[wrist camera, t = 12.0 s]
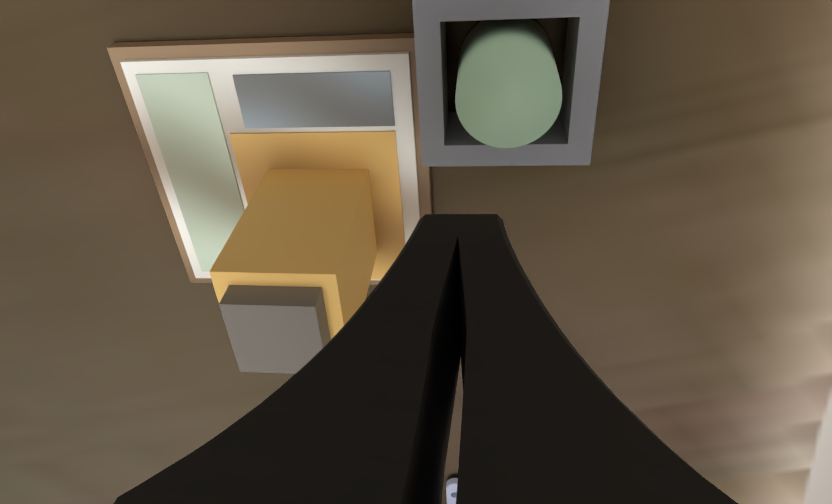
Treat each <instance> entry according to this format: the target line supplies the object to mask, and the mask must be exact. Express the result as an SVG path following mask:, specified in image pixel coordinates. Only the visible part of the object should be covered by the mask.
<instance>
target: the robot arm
mask: <svg viewBox="0 0 832 504" xmlns="http://www.w3.org/2000/svg"><path fill="white" fill-rule="evenodd" d="M460 357H461V365H462V379H463V409H462V425H461V440H460V455H459V470H458V478H451V479H449V480H448V481H447V483H446V498H447V504H738V503H736V502H735V501H734V500H732V499H731V498H730V497H728V496H727V495H726V494H725V493H723V492H722V491H721V490H719V489H718V488H717V487H715V486H714V485H713V484H711V483H710V482H709V481H707V480H706V479H705V478H704V477H702V476H701V475H700V474H699V473H698V472H696V471H695V470H694V469H693V468H692V467H691V466H689V465H688V464H687V463H686V462H685V461H684V460H683V459H681V458H680V457H679V456H678V455H677V454H676V453H675V452H673V451H672V450H671V449H670V448H669V447H668V446H667V445H665V444H664V443H663V442H662V441H661V440H660V439H659V438H658V437H657V436H656V435H655V434H654V433H653V432H652V431H651V430H650V429H649V428H648V427H647V426H646V425H645V424H644V423H643V422H642V421H641V420H640V419H639V418H638V417H637V416H636V415H635V414H633V413H632V412H631V411H630V410H629V409H628V408H627V407H626V406H625V405H624V404H623V403H622V402H621V401H620V400H619V399H618V398H617V397H616V396H615V395H614V394H613V392H612V391H611V390H610V389H609V388H608V387H607V386H606V385H605V384H604V382H603V381H602V380H601V379H600V378H599V377H598V376H597V375H596V374H595V372H594V371H593V370H592V369H591V368H590V367H589V365H588V364H587V363H586V362H585V360H584V359H583V358H582V357H581V356H580V354H579V353H578V352H577V351H576V349H575V348H574V347H573V346H572V344H571V343H570V342H569V340H568V339H567V338H566V336H565V335H564V334H563V332H562V331H561V330H560V328H559V327H558V325H557V324H556V322H555V321H554V319H553V318H552V316H551V315H550V314H549V312H548V311H547V309H546V308H545V306H544V304H543V303H542V301H541V300H540V298H539V297H538V295H537V293H536V291H535V290H534V288H533V286H532V285H531V283H530V281H529V279H528V278H527V276H526V274H525V272H524V271H523V269H522V267H521V265H520V263H519V261H518V259H517V257H516V255H515V252H514V250H513V248H512V246H511V244H510V241H509V239H508V236H507V233H506V230H505V227H504V223H503V220H502V219H501V218H500V217H499V216H498V215H497V214H425V215H424V216H423V217H422V218H421V219H419V221H418V223H417V225H416V227H415V229H414V230H413V232H412V234H411V236H410V238H409V239H408V241H407V243H406V244H405V246H404V247H403V249H402V250H401V252H400V254H399V255H398V257H397V258H396V260H395V261H394V263H393V264H392V265H391V267H390V268H389V270H388V271H387V272H386V274H385V275H384V277H383V278H382V279H381V281H380V282H379V284H378V285H377V286H376V288H375V289H374V290H373V292H372V293H371V294H370V295H369V296H368V298H367V299H366V300H365V301H364V302H363V304H362V305H361V306H360V307H359V309H358V310H357V311H356V312H355V313H354V315H353V316H352V317H351V318H350V319H349V321H348V322H347V323H346V324H345V325H344V326H343V327H342V328H341V329H340V331H339V332H338V333H337V334H336V335H335V336H334V337H333V338H332V339H331V340H330V341H329V342H328V343H327V344H326V345H325V346H324V347H323V348H322V349H321V350H320V351H319V352H318V353H317V354H316V355H315V356H314V357H313V358H312V359H311V360H310V361H309V362H308V363H307V364H306V365H305V366H304V367H302V368H301V369H300V370H299V371H298V372H297V373H296V374H295V375H293V376H292V377H291V378H290V379H289V380H288V381H287V382H286V383H285V384H283V385H282V386H281V387H280V388H279V389H278V390H276V391H275V392H274V393H273V394H272V395H270V396H269V397H268V398H267V399H266V400H264V401H263V402H262V403H261V404H259V405H258V406H257V407H255V408H254V409H253V410H251V411H250V412H249V413H247V414H246V415H245V416H243V417H242V418H240V419H239V420H238V421H236V422H235V423H234V424H232V425H231V426H230V427H228V428H227V429H226V430H224V431H223V432H222V433H220V434H219V435H217V436H216V437H214V438H213V439H212V440H210V441H209V442H207V443H206V444H204V445H203V446H201V447H200V448H198V449H197V450H195V451H194V452H192V453H190V454H189V455H187V456H186V457H184V458H182V459H181V460H179V461H177V462H176V463H174V464H172V465H171V466H169V467H168V468H166V469H164V470H163V471H161V472H159V473H158V474H156V475H154V476H153V477H151V478H150V479H148V480H146V481H145V482H143V483H141V484H140V485H138V486H136V487H135V488H133V489H131V490H130V491H128V492H126V493H124V494H123V495H121V496H119V497H118V498H117V499H116V501H115V502H114V504H442V489H443V479H444V469H445V462H446V455H447V448H448V441H449V434H450V427H451V420H452V413H453V407H454V400H455V393H456V386H457V379H458V372H459V365H460Z"/></svg>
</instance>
